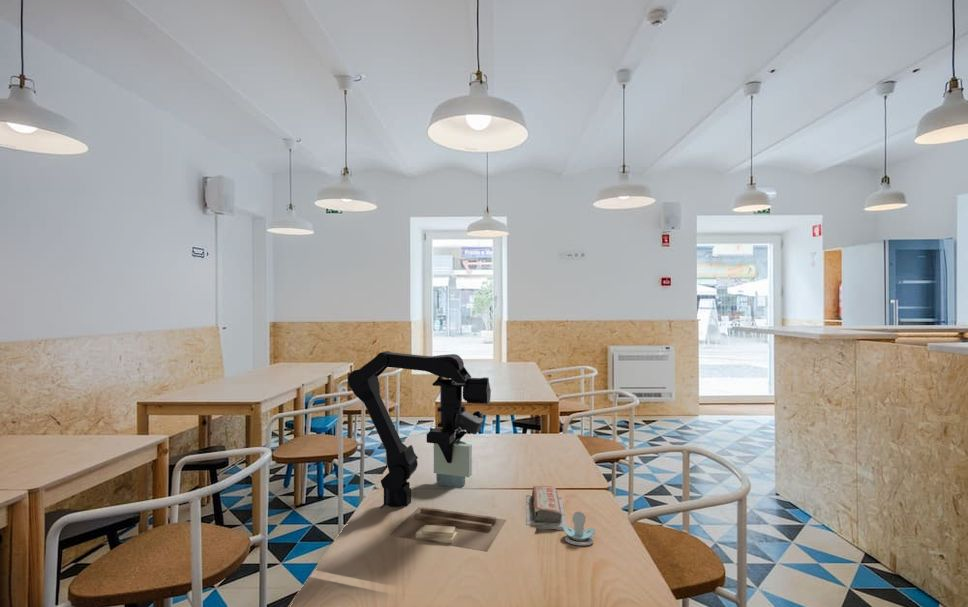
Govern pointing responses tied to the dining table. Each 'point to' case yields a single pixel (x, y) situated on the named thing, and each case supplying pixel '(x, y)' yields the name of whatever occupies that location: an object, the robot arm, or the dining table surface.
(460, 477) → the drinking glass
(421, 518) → the rack
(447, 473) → the green board
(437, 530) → the offcut upper
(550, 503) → the packaged product
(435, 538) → the offcut lower
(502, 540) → the dining table surface
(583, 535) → the pacifier
